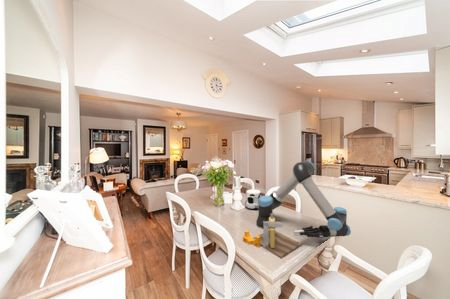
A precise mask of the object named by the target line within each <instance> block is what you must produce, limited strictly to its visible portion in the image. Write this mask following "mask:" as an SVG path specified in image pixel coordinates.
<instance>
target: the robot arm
mask: <svg viewBox="0 0 450 299" xmlns="http://www.w3.org/2000/svg"><path fill="white" fill-rule="evenodd" d="M315 170H316V167H315V164H313V162H312V161H308V160H303V161H299V162H296V163H295V164H294V165H293V168H292V174H291V175H290V176H289V177H288V178H287V179H286V180H285V181H284V182H283V183H282V184H281V185H280V187H278V189H277V190H274V191H272V192H271V194H269V195H268V194H267V195H266V194H265V195H261V197H260V198H259V201H258V209H257V210H258V215H257V219H256V220H255V221H256V226H257V227H258V228H261V229H263V221H269V217H270V214H271V213H273V214H274V212H273V211H274V210H275V209H277V208H278V207H281V205H282V204H283V203H284V201H285V197H287V196H288V195H289V194H290V193H291V192H292V191H293V190H294V189H295V188H296V187H297V186H298V185H299V184H300V185H302V186H303V188H304V190H306V192H307V194H308V195H309V197H310V198H311V199H312V201H313V202H314V203H315V205H316V206H317V208H318V209H319V211H320V212H321V213H322V215H323V216H324V218H325V219H326V221H327V224H325V225H322V224H321V225H319V226H318V227H316V226H315V227H313V225H310V226H307V227H302V228H301V229H300V230H299V229H298V230H294V231H293V235H294V236H306V238H319V239H324V238H333V237H346V236H347V237H348V236H350V235H351V233H352V231H351V227H350V226H349V225H348V224H347V214H348V213H347V209H346V208H345V207H341V206H336V207H333V206H332V205H331V203H330V202H329V201H328V199H327V198H326V197H325V195H324V193H323V192H322V191H321V190H320V188H319V186H318V185H317V184H316V183H315V181H314V180H313V178H312V175H313V174H314V173H315ZM268 230H269V226H268Z"/></svg>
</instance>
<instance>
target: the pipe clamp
mask: <svg viewBox="0 0 450 299" xmlns="http://www.w3.org/2000/svg"><path fill="white" fill-rule="evenodd" d="M256 236H257V237H256ZM256 236H255V237H256V239H253V238H254V237H252V236H251V234H250V231H249V230H247V229H246V230H244V236H242V241H243V242H244V243H246V244H247V245H249V244H251V245H253V246H254V247H257V248H259V247H262V246H261V245H260V236H258V235H256Z"/></svg>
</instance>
